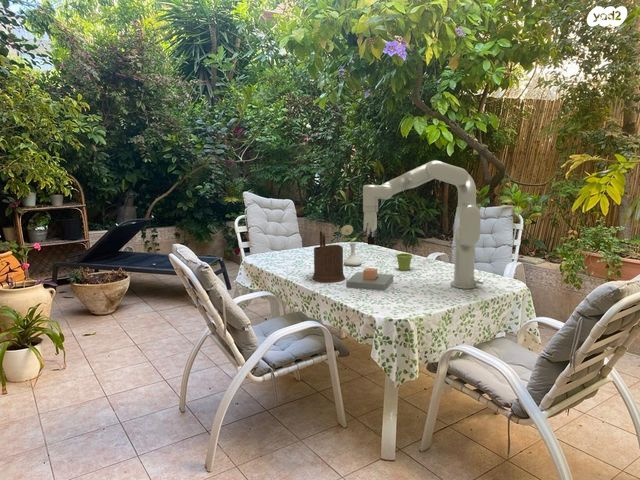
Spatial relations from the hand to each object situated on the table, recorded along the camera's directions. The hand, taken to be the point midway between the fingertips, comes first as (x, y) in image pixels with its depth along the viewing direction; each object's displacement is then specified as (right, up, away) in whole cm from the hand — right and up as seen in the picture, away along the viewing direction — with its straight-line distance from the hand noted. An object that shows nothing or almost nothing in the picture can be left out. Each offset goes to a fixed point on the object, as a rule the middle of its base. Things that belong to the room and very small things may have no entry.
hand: (371, 244), depth 229 cm
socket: (0, -21, +4) cm, 21 cm away
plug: (0, -20, +4) cm, 21 cm away
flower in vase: (-7, -13, +46) cm, 48 cm away
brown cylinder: (-22, -19, +18) cm, 34 cm away
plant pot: (+23, -15, +32) cm, 42 cm away
